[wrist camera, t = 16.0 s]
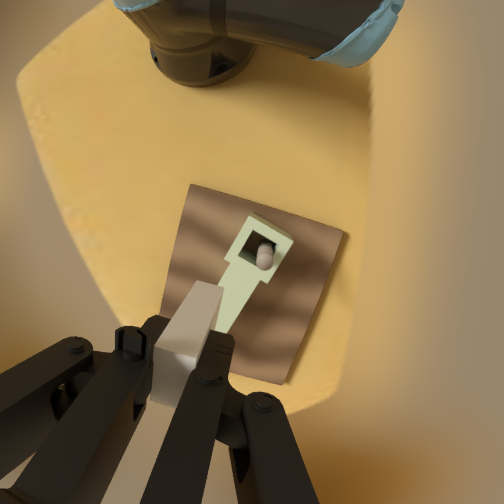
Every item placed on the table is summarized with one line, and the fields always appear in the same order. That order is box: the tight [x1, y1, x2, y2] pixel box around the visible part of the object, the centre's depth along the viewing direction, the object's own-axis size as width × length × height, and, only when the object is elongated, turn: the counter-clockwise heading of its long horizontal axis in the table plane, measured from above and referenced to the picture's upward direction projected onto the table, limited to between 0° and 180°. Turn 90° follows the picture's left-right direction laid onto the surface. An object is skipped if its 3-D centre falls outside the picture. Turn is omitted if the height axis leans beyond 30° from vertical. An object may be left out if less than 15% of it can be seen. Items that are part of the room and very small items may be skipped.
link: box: [215, 212, 294, 334], centre depth 40 cm, size 19×6×5 cm, turn 150°
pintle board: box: [159, 184, 344, 385], centre depth 39 cm, size 26×22×10 cm
